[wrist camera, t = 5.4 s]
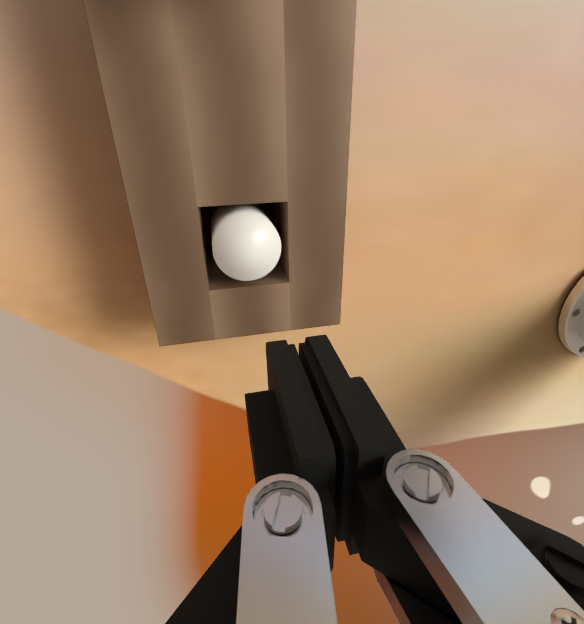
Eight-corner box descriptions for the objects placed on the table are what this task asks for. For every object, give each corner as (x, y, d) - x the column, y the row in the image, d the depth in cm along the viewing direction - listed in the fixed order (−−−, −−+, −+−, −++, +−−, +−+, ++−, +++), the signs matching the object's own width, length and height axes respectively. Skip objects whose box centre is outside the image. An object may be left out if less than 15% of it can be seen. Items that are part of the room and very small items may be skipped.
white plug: (265, 194, 26) (280, 211, 21) (268, 249, 27) (282, 277, 23) (207, 197, 25) (208, 216, 20) (214, 254, 27) (216, 284, 22)
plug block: (324, -183, 19) (371, -300, 13) (316, 289, 31) (340, 324, 26) (64, -217, 16) (1, -371, 11) (167, 304, 29) (159, 346, 23)
